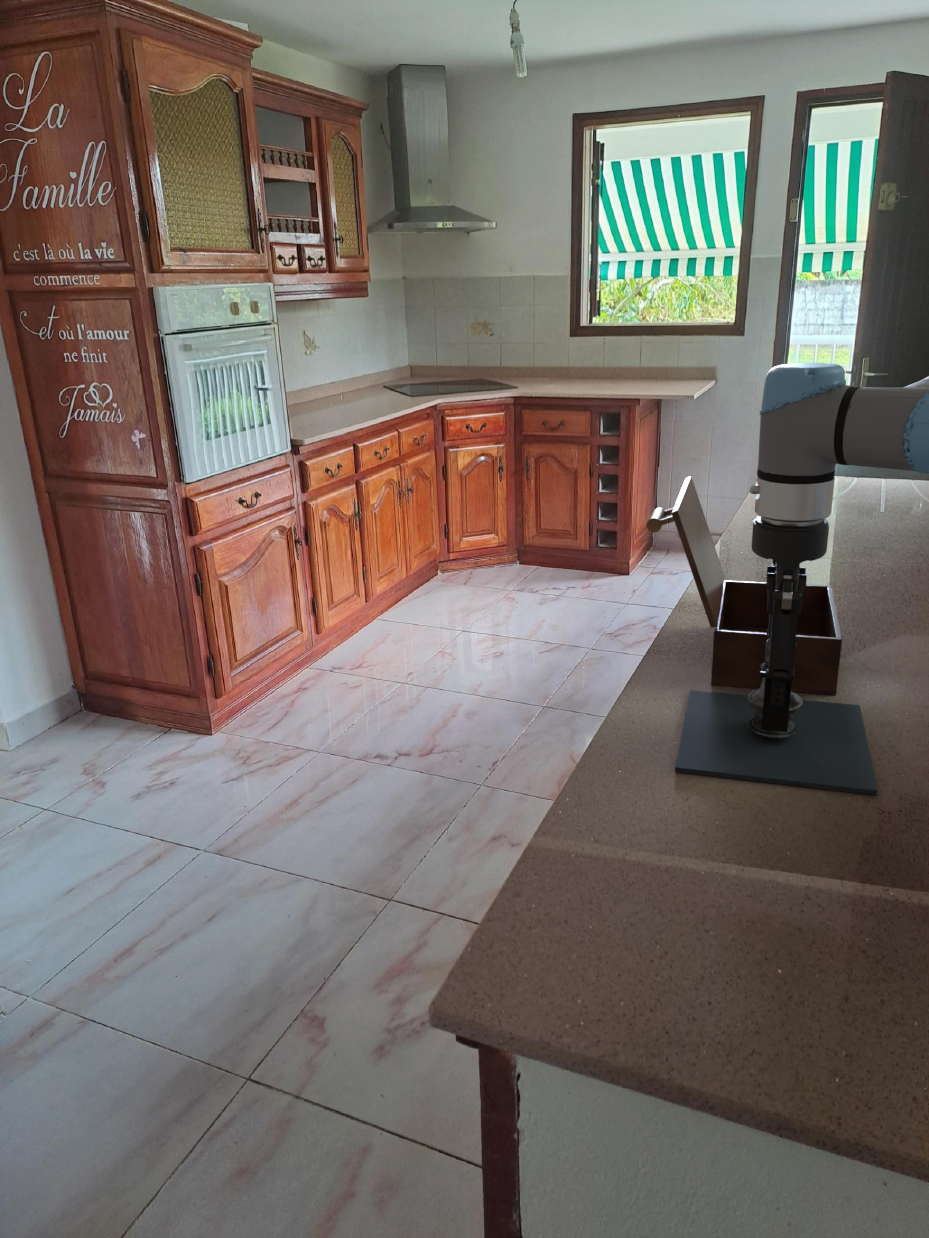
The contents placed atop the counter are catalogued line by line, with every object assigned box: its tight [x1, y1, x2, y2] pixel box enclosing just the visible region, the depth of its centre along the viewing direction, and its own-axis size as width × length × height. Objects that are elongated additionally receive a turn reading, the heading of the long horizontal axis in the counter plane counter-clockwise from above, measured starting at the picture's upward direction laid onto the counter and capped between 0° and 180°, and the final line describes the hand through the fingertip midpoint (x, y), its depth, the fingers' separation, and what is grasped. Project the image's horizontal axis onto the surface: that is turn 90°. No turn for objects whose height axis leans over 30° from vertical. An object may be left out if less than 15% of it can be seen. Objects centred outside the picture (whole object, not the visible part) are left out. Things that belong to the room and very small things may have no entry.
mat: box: [674, 689, 878, 796], centre depth 101 cm, size 20×20×1 cm
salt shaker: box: [747, 638, 803, 738], centre depth 98 cm, size 6×6×12 cm
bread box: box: [710, 579, 843, 696], centre depth 121 cm, size 15×21×8 cm
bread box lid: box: [645, 475, 726, 629], centre depth 121 cm, size 16×21×6 cm
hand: (774, 715), depth 100 cm, fingers closed on salt shaker, 6 cm apart
